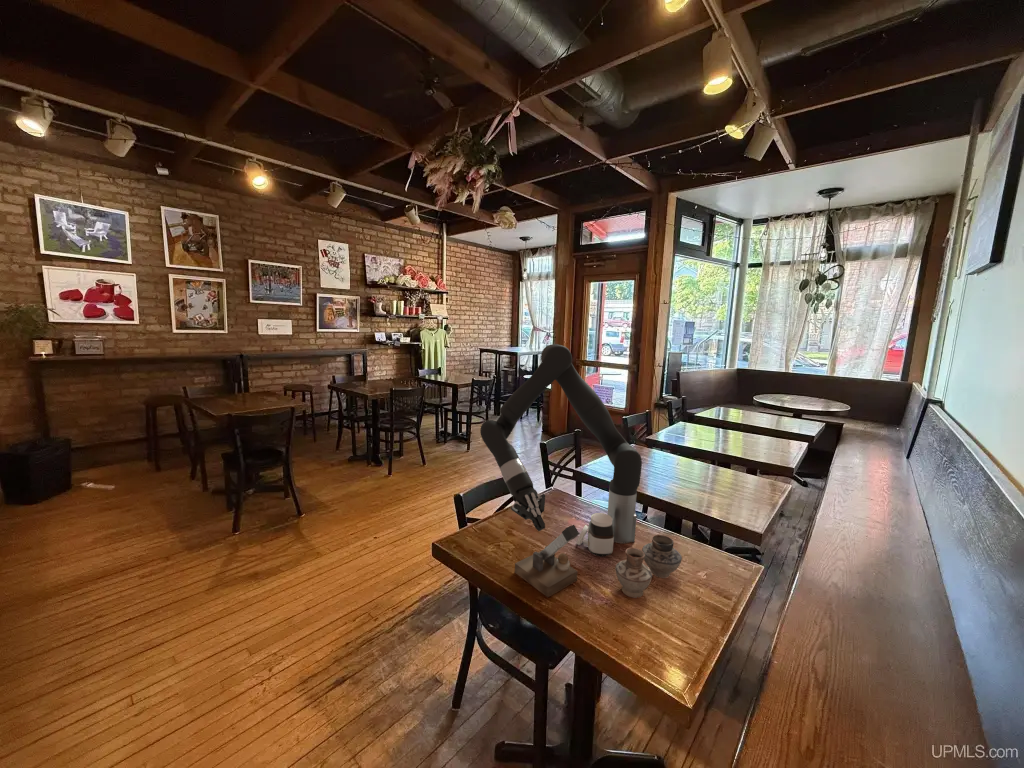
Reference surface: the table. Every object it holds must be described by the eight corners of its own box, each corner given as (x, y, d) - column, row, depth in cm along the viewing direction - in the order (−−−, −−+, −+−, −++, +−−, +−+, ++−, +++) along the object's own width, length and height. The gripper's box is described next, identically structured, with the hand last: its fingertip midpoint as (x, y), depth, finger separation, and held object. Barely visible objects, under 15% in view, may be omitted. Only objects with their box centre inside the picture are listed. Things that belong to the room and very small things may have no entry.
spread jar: (615, 559, 130) (617, 525, 128) (579, 559, 130) (581, 525, 128) (606, 539, 142) (608, 508, 140) (573, 539, 141) (575, 507, 140)
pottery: (605, 588, 116) (607, 549, 114) (653, 557, 132) (656, 522, 130) (640, 610, 107) (643, 569, 105) (687, 574, 123) (690, 537, 121)
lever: (536, 554, 120) (566, 527, 110) (543, 551, 122) (573, 524, 112) (541, 563, 119) (572, 537, 109) (548, 560, 121) (579, 533, 110)
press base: (514, 572, 122) (515, 549, 121) (543, 558, 130) (544, 536, 128) (547, 597, 111) (548, 572, 110) (577, 580, 119) (578, 556, 118)
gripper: (505, 476, 120) (532, 532, 113) (537, 466, 129) (564, 518, 121) (493, 487, 125) (518, 541, 118) (525, 477, 134) (550, 527, 126)
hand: (542, 529), depth 120 cm, fingers closed
